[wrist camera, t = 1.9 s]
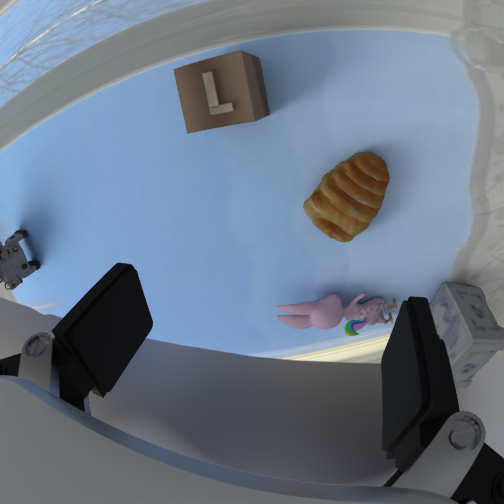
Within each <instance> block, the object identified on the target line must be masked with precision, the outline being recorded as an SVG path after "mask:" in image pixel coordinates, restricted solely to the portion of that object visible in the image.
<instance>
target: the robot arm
mask: <svg viewBox="0 0 504 504" xmlns="http://www.w3.org/2000/svg"><path fill="white" fill-rule="evenodd" d="M152 327H153V320H152V317H151V314H150V311H149V308H148V305H147V302H146V299H145V296H144V293H143V289H142V286H141V283H140V280H139V276H138V273H137V270H136V269H134V267H133V265H131V264H126V263H117V264H115V265H114V266H113V267H112V268H111V269H110V270H109V271H108V272H107V273H106V274H105V275H104V276H103V277H102V278H101V279H100V280H99V281H98V282H97V283H96V284H95V285H94V286H93V287H92V288H91V289H90V290H89V291H88V292H87V293H86V294H85V295H84V296H83V297H82V299H81V300H80V301H79V302H78V303H77V304H76V305H75V306H74V307H73V308H72V309H71V310H70V311H69V312H68V313H67V314H66V316H65V317H64V318H63V319H62V320H61V321H60V322H59V323H58V324H57V325H56V327H55V328H54V329H53V330H52V332H53V334H54V335H55V338H54V339H52V337H51V335H50V334H48V333H44V332H41V333H37V334H34V335H33V336H31V337H30V338H29V339H28V340H27V341H26V342H25V343H24V345H23V348H22V352H21V353H20V354H17V355H13V356H10V357H7V358H4V359H1V360H0V504H504V458H503V457H501V456H500V455H499V454H498V453H496V452H495V451H494V450H493V449H492V448H491V447H489V446H488V445H487V444H486V443H485V442H484V441H485V433H486V431H485V427H484V425H483V423H482V421H481V419H480V418H479V417H478V416H477V415H476V414H473V413H471V412H467V411H459V405H458V399H457V394H456V388H455V383H454V378H453V374H452V369H451V365H450V361H449V357H448V353H447V349H446V345H445V342H444V340H442V339H439V338H438V334H437V330H436V326H435V323H434V319H433V316H432V313H431V309H430V306H429V303H428V300H427V298H425V297H412V296H411V297H409V298H408V301H403V302H402V305H401V308H400V311H399V314H398V316H397V319H396V322H395V325H394V327H393V330H392V333H391V335H390V338H389V341H388V343H387V346H386V348H385V351H384V353H383V356H382V361H381V370H382V397H383V398H382V399H383V400H382V401H383V428H382V450H383V451H387V459H396V468H397V469H396V471H394V473H393V474H392V475H391V476H390V477H389V478H388V479H387V480H386V481H385V482H384V483H383V484H382V485H381V486H380V487H375V486H351V485H334V484H322V483H312V482H304V481H296V480H289V479H282V478H276V477H269V476H264V475H259V474H254V473H248V472H244V471H240V470H235V469H231V468H227V467H223V466H220V465H216V464H212V463H209V462H205V461H202V460H198V459H195V458H192V457H188V456H186V455H183V454H180V453H177V452H174V451H171V450H168V449H165V448H163V447H160V446H157V445H155V444H152V443H150V442H147V441H145V440H142V439H140V438H137V437H135V436H133V435H130V434H128V433H126V432H124V431H121V430H119V429H117V428H115V427H113V426H111V425H109V424H106V423H105V422H102V421H100V420H98V419H97V418H95V417H92V416H91V410H90V402H89V394H88V393H89V392H90V390H91V391H92V392H93V393H94V394H96V395H98V396H100V397H102V398H104V396H105V395H106V393H107V392H110V391H111V390H112V388H113V387H114V385H115V383H116V382H117V380H118V379H119V377H120V376H121V374H122V373H123V371H124V370H125V368H126V367H127V365H128V364H129V362H130V360H131V359H132V358H133V356H134V354H135V353H136V351H137V350H138V349H139V347H140V346H141V344H142V343H143V341H144V340H145V338H146V337H147V335H148V334H149V332H150V331H151V329H152Z"/></svg>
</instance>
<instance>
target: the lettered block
mask: <svg viewBox="0 0 504 504" xmlns="http://www.w3.org/2000/svg"><path fill="white" fill-rule="evenodd" d="M174 74H175V79H176V84H177V88H178V93H179V98H180V102H181V107H182V111H183V116H184V120H185V125H186V129H187V133H193V132H197V131H202V130H207V129H212V128H218V127H223V126H229V125H234V124H241V123H247V122H253V121H257V120H259V119H261V118H263V117H266V116H268V115H270V113H269V108H268V102H267V97H266V91H265V86H264V81H263V75H262V70H261V65H260V60H259V57H256V56H253V55H251V54H248V53H246V52H243V51H238V52H234V53H229V54H225V55H221V56H217V57H213V58H210V59H206V60H202V61H199V62H195V63H192V64H189V65H185V66H182V67H179V68H176V69H174Z"/></svg>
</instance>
